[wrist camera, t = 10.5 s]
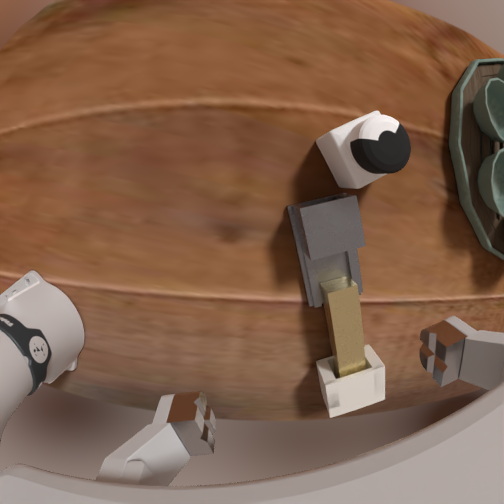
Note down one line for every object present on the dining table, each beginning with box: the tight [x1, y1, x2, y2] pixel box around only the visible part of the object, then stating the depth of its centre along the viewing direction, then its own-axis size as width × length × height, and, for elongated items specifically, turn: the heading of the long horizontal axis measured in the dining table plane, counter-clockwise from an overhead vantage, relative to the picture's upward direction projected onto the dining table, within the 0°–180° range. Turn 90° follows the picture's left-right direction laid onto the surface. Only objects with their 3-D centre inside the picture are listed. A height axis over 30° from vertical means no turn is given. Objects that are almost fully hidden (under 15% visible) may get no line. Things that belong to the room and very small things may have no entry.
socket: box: [316, 345, 385, 418], centre depth 41 cm, size 9×7×6 cm
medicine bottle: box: [316, 111, 411, 189], centre depth 31 cm, size 7×7×12 cm
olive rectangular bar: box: [320, 276, 366, 379], centre depth 39 cm, size 4×16×4 cm, turn 14°
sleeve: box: [287, 193, 365, 308], centre depth 36 cm, size 8×14×6 cm, turn 14°
